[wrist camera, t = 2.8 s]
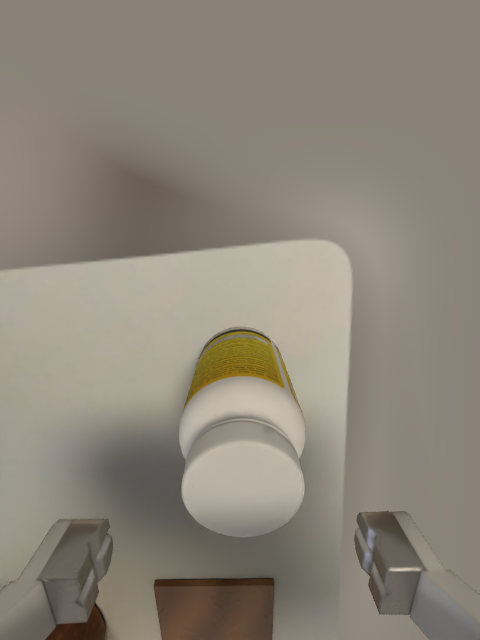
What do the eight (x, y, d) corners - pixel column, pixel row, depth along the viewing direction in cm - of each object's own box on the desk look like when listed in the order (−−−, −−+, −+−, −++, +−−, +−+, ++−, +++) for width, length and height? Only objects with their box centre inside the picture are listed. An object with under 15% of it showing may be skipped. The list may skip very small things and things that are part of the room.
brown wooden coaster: (273, 578, 27) (273, 585, 27) (270, 660, 31) (271, 668, 31) (155, 579, 27) (153, 586, 27) (167, 661, 31) (166, 669, 31)
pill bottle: (183, 362, 21) (123, 491, 10) (241, 307, 19) (245, 389, 9) (239, 412, 22) (240, 574, 11) (298, 364, 21) (359, 495, 10)
